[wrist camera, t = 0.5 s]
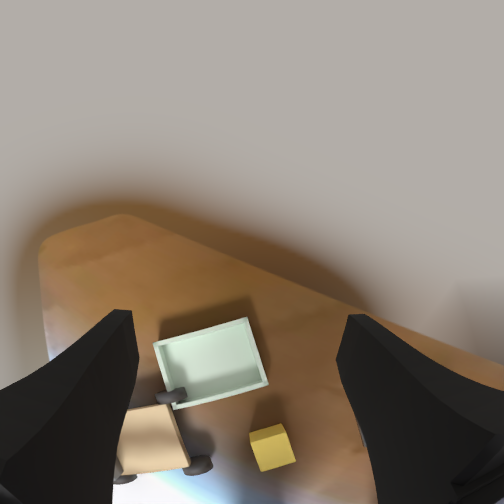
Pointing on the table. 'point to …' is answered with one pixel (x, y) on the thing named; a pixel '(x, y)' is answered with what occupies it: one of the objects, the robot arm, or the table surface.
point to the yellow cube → (271, 447)
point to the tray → (211, 363)
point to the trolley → (155, 442)
